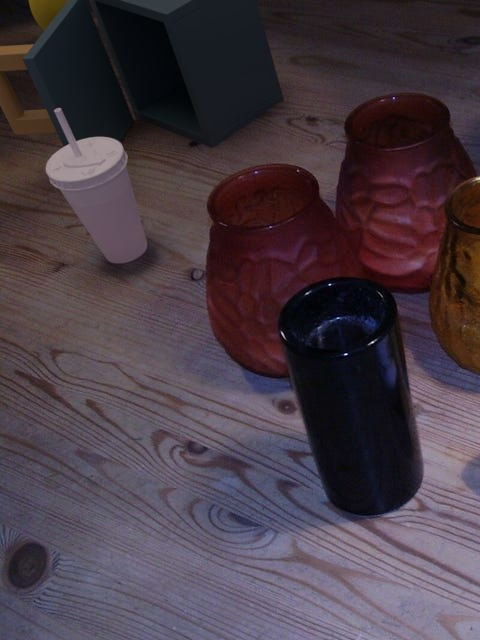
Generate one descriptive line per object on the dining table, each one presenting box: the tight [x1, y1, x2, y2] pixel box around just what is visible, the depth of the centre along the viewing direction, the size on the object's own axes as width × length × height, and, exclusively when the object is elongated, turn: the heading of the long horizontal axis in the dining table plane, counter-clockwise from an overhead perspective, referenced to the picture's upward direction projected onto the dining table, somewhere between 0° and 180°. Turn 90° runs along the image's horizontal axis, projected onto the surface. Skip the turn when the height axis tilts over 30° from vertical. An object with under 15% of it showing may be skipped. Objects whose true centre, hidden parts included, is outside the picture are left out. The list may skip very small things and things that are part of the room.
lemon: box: [28, 0, 68, 31], centre depth 115 cm, size 6×6×8 cm
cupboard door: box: [0, 0, 135, 147], centre depth 94 cm, size 6×12×14 cm, turn 175°
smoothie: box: [45, 108, 148, 264], centre depth 83 cm, size 6×6×14 cm
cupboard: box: [88, 0, 285, 149], centre depth 98 cm, size 10×12×14 cm
